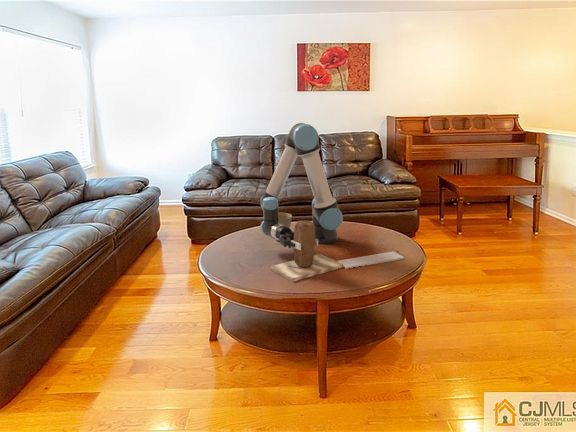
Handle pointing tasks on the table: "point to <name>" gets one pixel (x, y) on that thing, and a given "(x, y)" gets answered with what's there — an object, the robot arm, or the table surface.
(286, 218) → the planter bowl
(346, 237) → the table surface
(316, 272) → the board
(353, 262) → the baseboard
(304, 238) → the block
